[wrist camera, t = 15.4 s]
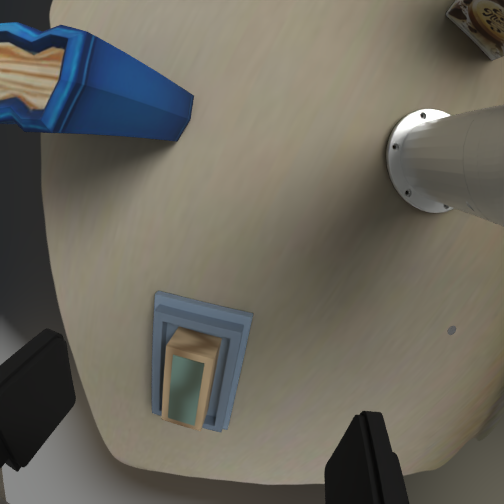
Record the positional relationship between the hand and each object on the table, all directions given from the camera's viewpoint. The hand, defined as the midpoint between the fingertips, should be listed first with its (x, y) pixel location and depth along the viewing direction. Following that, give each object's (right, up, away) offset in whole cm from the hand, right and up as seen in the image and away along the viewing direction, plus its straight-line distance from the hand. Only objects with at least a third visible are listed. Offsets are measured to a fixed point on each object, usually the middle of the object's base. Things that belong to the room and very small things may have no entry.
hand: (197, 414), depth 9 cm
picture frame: (-7, -12, +35) cm, 38 cm away
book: (-15, +24, +27) cm, 39 cm away
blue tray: (-7, -12, +36) cm, 39 cm away
